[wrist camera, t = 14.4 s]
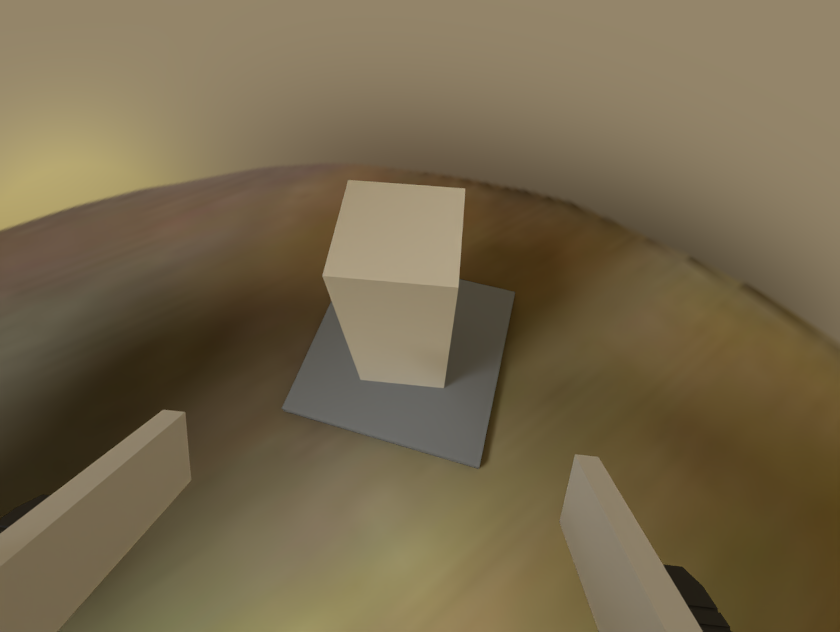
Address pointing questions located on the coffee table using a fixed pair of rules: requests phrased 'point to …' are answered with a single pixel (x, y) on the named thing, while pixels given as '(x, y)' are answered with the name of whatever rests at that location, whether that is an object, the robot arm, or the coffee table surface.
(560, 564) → the coffee table surface
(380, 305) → the cream block
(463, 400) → the slate mat
